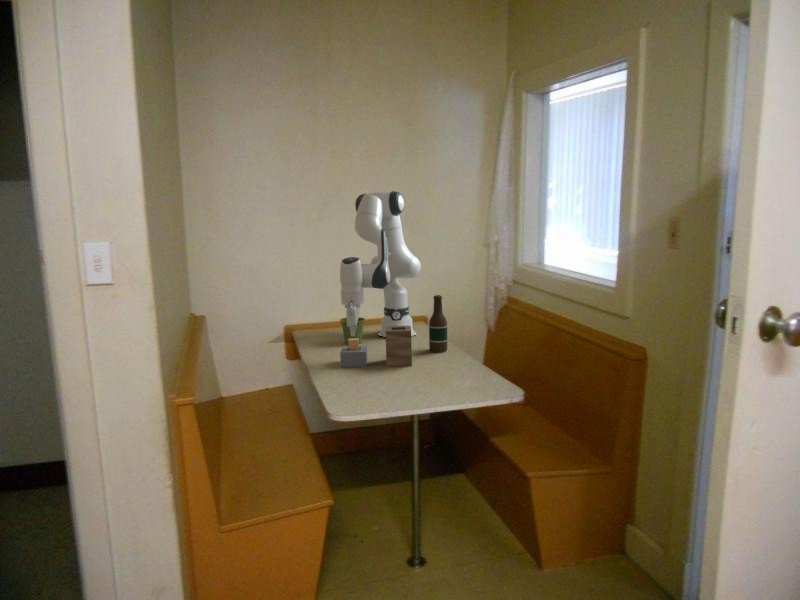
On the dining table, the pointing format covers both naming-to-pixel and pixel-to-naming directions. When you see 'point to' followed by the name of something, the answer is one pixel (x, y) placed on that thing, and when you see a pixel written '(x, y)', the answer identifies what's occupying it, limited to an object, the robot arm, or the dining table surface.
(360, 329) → the plant pot
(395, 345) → the wood block with hole
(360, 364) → the low socket
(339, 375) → the dining table surface
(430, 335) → the beer bottle
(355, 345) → the peg
